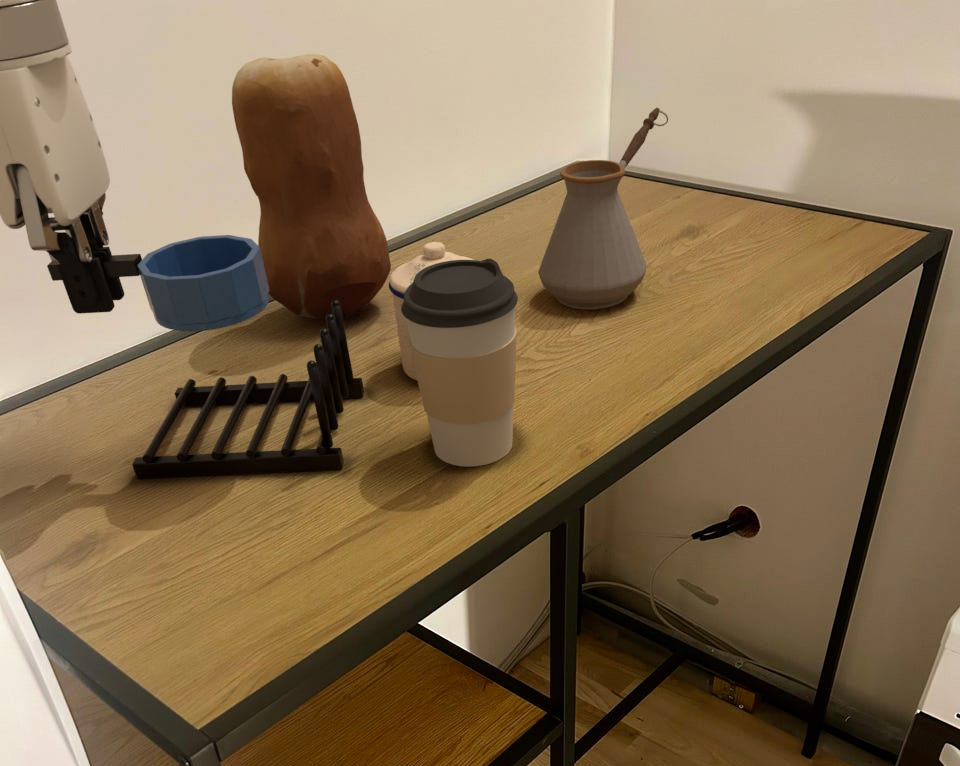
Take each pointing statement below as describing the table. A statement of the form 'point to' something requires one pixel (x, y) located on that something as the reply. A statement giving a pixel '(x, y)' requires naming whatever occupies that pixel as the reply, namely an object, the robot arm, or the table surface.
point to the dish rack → (264, 417)
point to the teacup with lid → (403, 280)
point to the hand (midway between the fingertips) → (99, 303)
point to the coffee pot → (595, 235)
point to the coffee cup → (465, 357)
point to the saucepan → (196, 281)
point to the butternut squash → (309, 185)
